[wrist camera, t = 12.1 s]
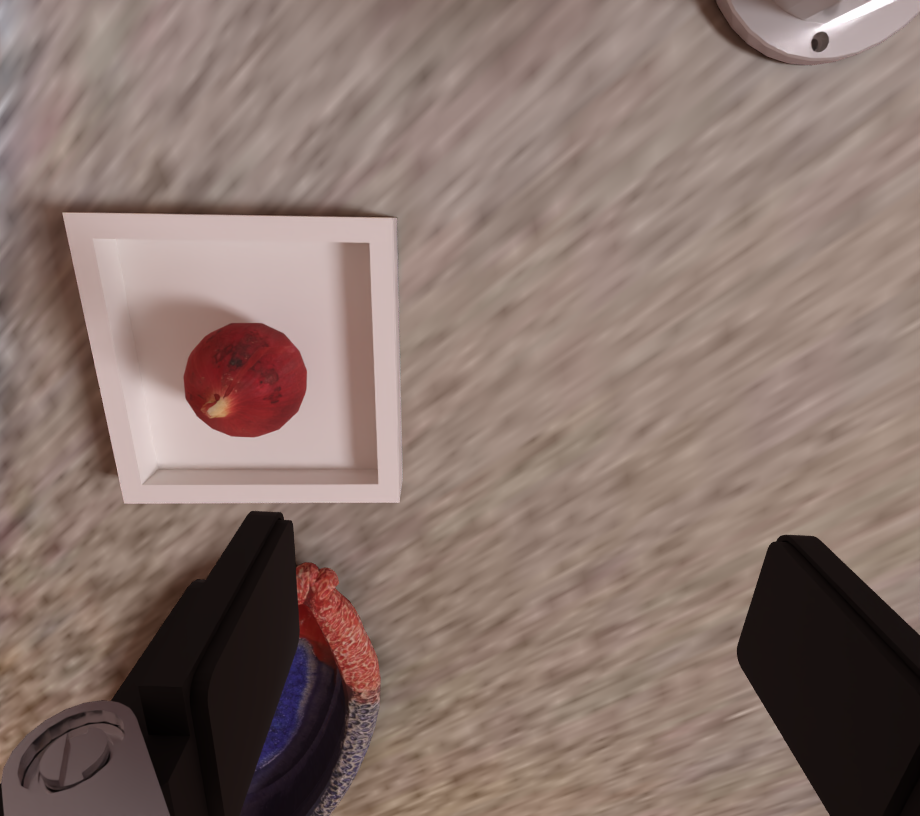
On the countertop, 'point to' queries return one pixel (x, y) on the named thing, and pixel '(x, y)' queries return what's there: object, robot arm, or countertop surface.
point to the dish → (319, 707)
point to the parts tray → (245, 301)
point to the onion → (245, 379)
